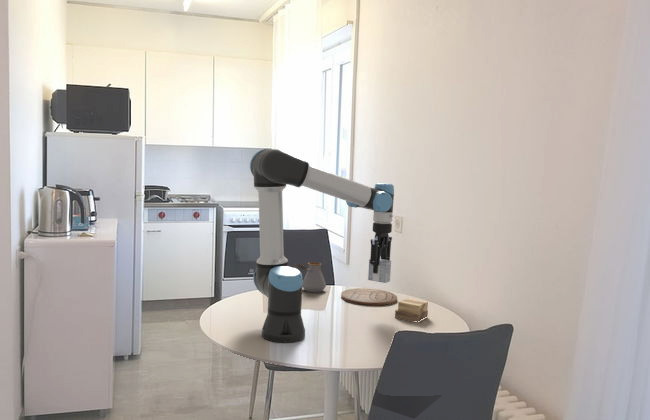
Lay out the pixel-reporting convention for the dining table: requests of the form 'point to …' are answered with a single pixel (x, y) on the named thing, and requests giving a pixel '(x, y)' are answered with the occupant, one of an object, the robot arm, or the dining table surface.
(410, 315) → the walnut slab
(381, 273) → the medicine box
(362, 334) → the dining table surface
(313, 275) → the coffee pot
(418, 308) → the oak slab
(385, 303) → the trivet
